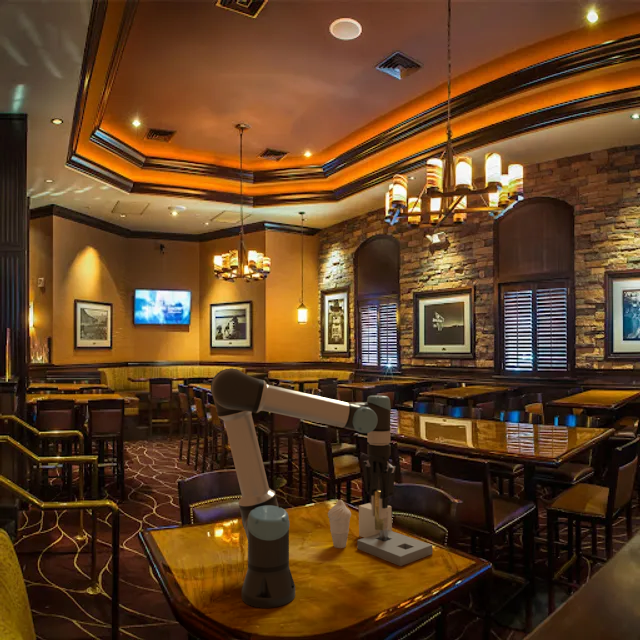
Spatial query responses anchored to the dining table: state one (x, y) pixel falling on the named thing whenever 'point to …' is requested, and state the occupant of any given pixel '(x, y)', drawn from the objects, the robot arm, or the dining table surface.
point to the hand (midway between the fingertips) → (379, 516)
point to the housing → (370, 520)
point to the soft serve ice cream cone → (339, 524)
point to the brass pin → (378, 522)
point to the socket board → (395, 548)
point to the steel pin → (384, 533)
